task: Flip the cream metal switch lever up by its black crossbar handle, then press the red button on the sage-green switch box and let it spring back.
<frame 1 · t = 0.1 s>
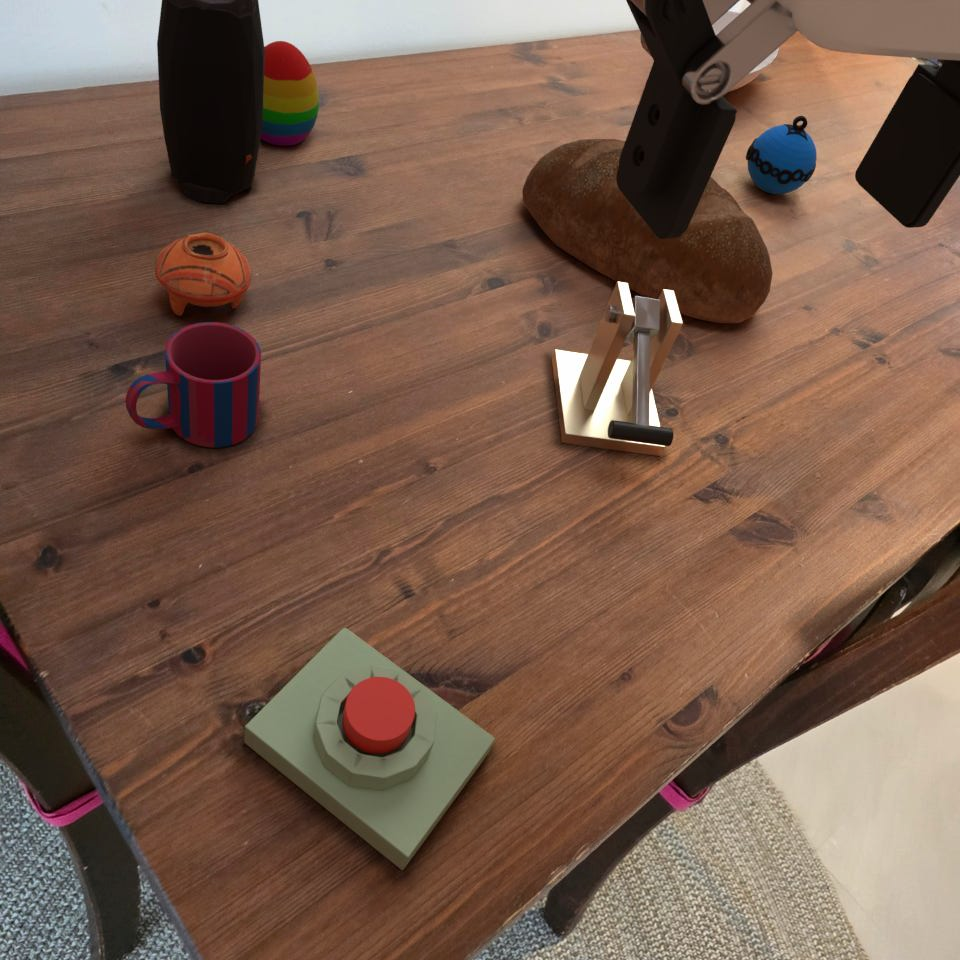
hand: (773, 207, 28), 39 cm above the table, tool pointing down, fingers open, 9 cm apart
switch bracket: (604, 405, 80), on the table
bowl: (709, 82, 136), on the table
decorative egg: (278, 135, 99), on the table
button: (378, 714, 51), point 4 cm above the table, slide at 0.1 cm
portable speaker: (213, 185, 90), on the table
pot: (204, 303, 78), on the table
ornament: (765, 190, 116), on the table
switch lever: (641, 371, 72), point 8 cm above the table, hinge at -25.0°
switch box: (369, 748, 54), on the table
bread: (633, 259, 98), on the table
cup: (193, 424, 69), on the table
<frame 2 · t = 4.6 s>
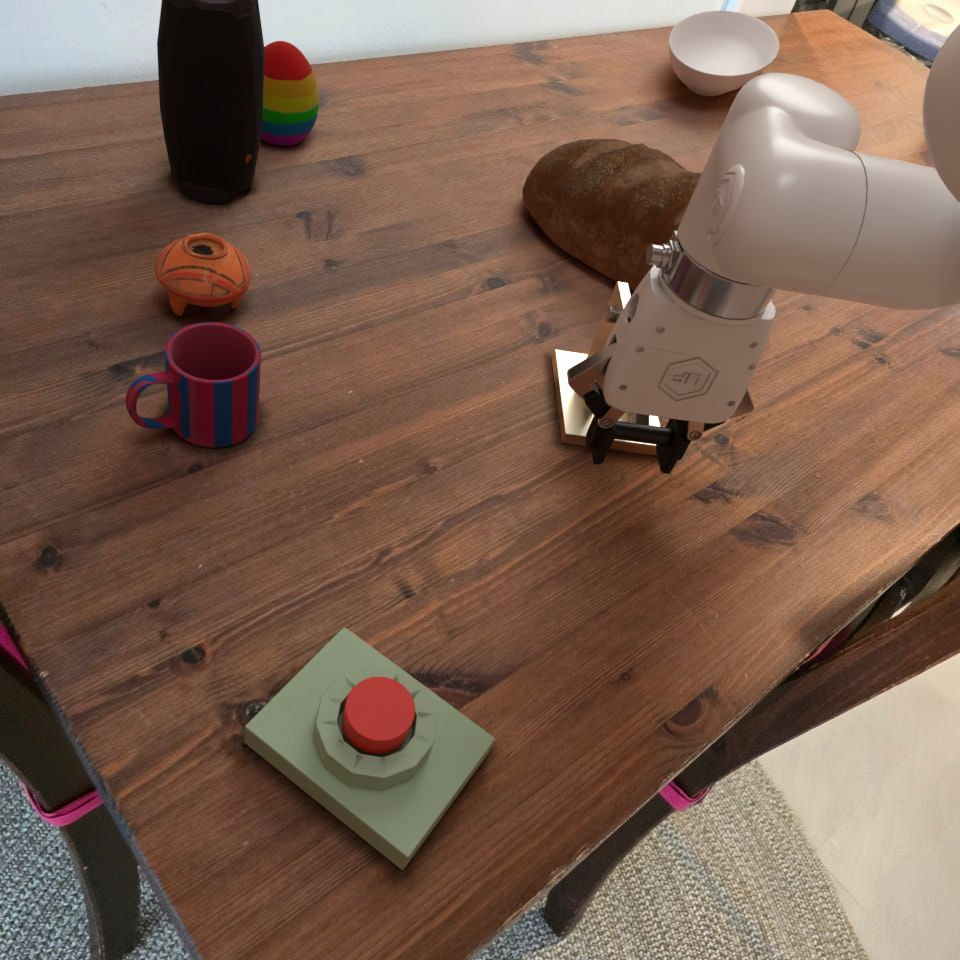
hand: (629, 455, 72), 3 cm above the table, tool pointing down, fingers closed on switch lever, 5 cm apart
switch lever: (641, 371, 72), point 8 cm above the table, hinge at -25.0°, touching gripper
everything else where it was.
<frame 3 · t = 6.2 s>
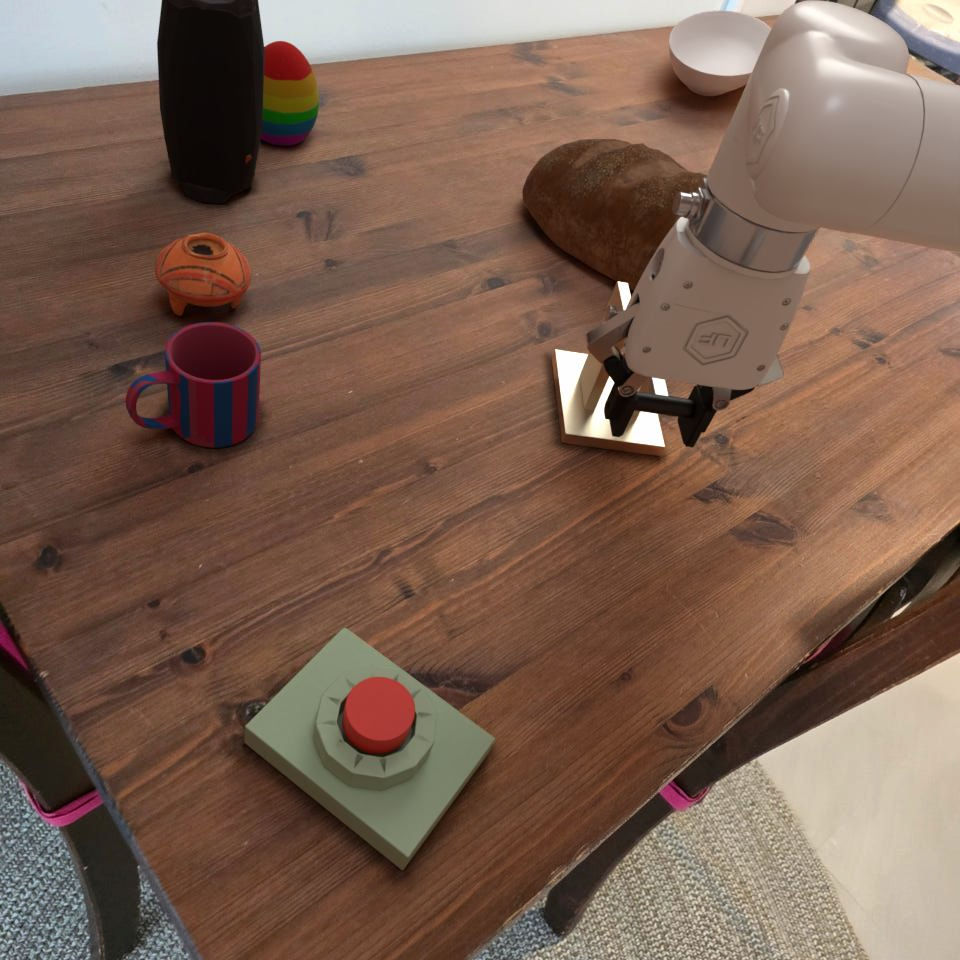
hand: (650, 427, 68), 8 cm above the table, tool pointing down, fingers closed on switch lever, 5 cm apart
switch lever: (650, 357, 70), point 10 cm above the table, hinge at -0.8°, touching gripper
everything else where it was.
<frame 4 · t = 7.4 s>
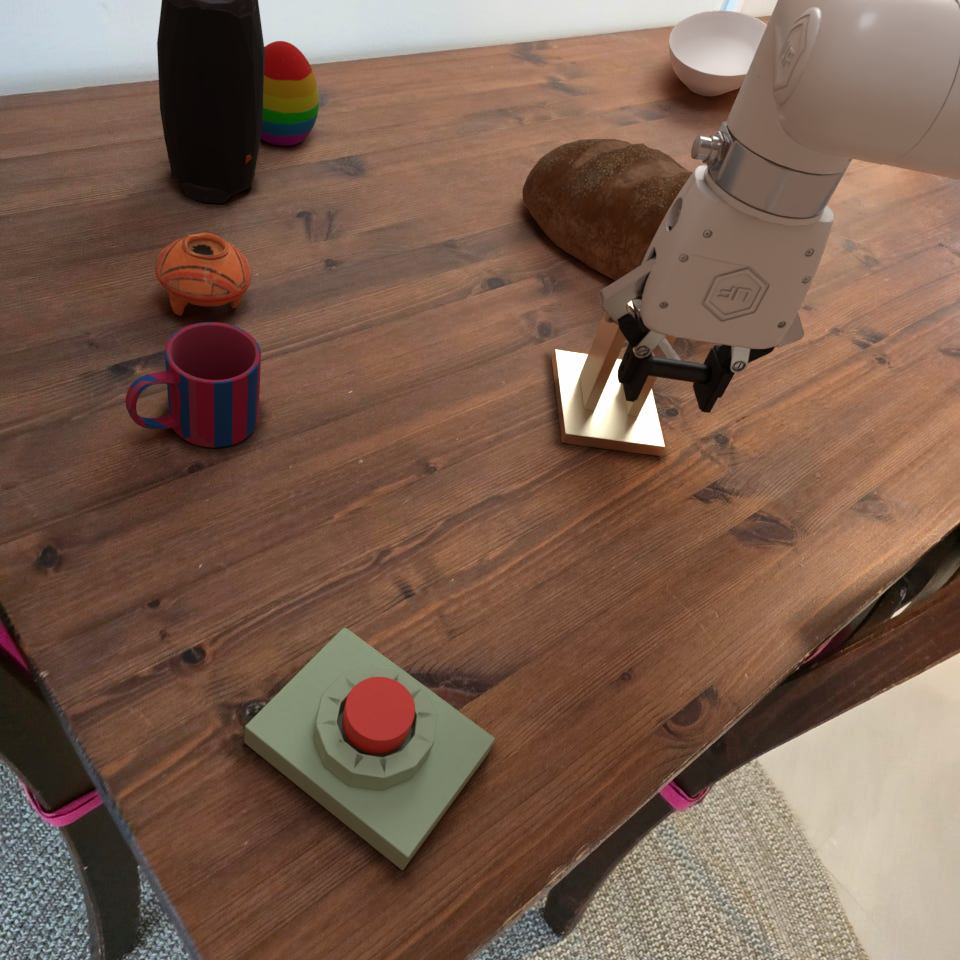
hand: (665, 392, 66), 11 cm above the table, tool pointing down, fingers closed on switch lever, 5 cm apart
switch lever: (656, 341, 69), point 11 cm above the table, hinge at 17.3°, touching gripper
everything else where it was.
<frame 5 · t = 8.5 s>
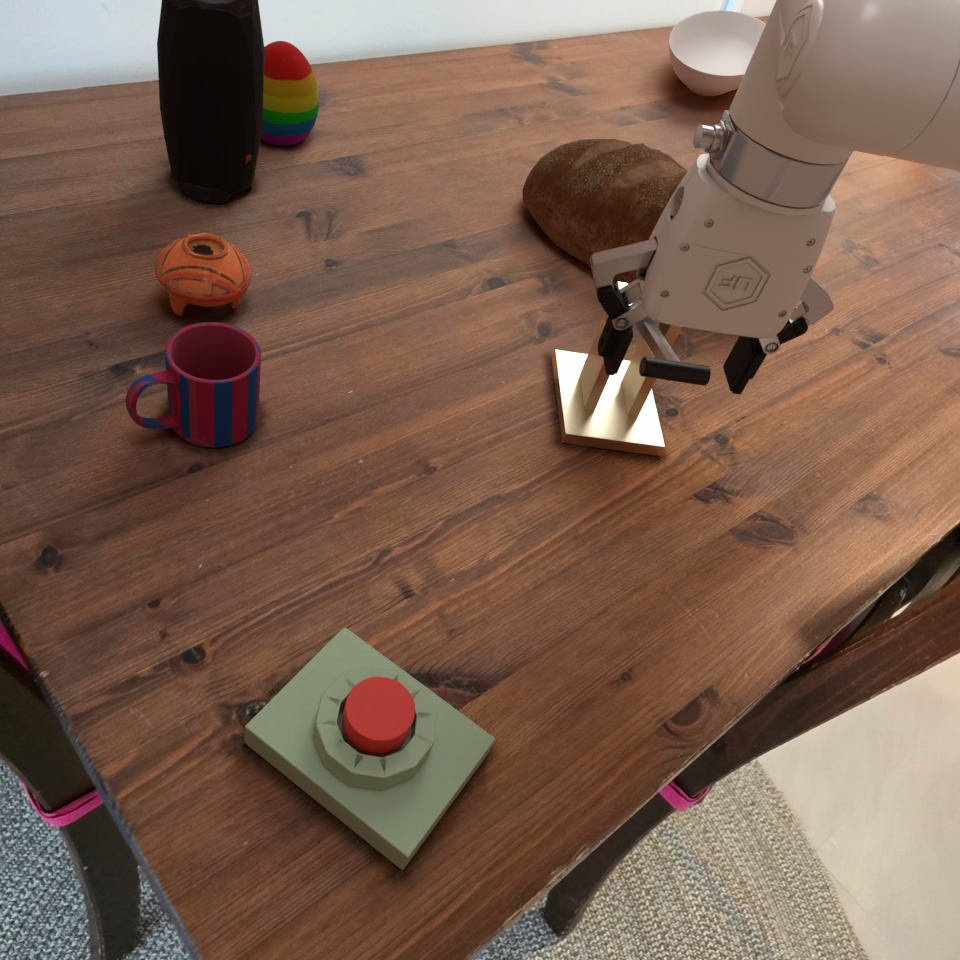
hand: (670, 372, 65), 12 cm above the table, tool pointing down, fingers open, 9 cm apart
switch lever: (656, 341, 69), point 11 cm above the table, hinge at 16.6°
everything else where it was.
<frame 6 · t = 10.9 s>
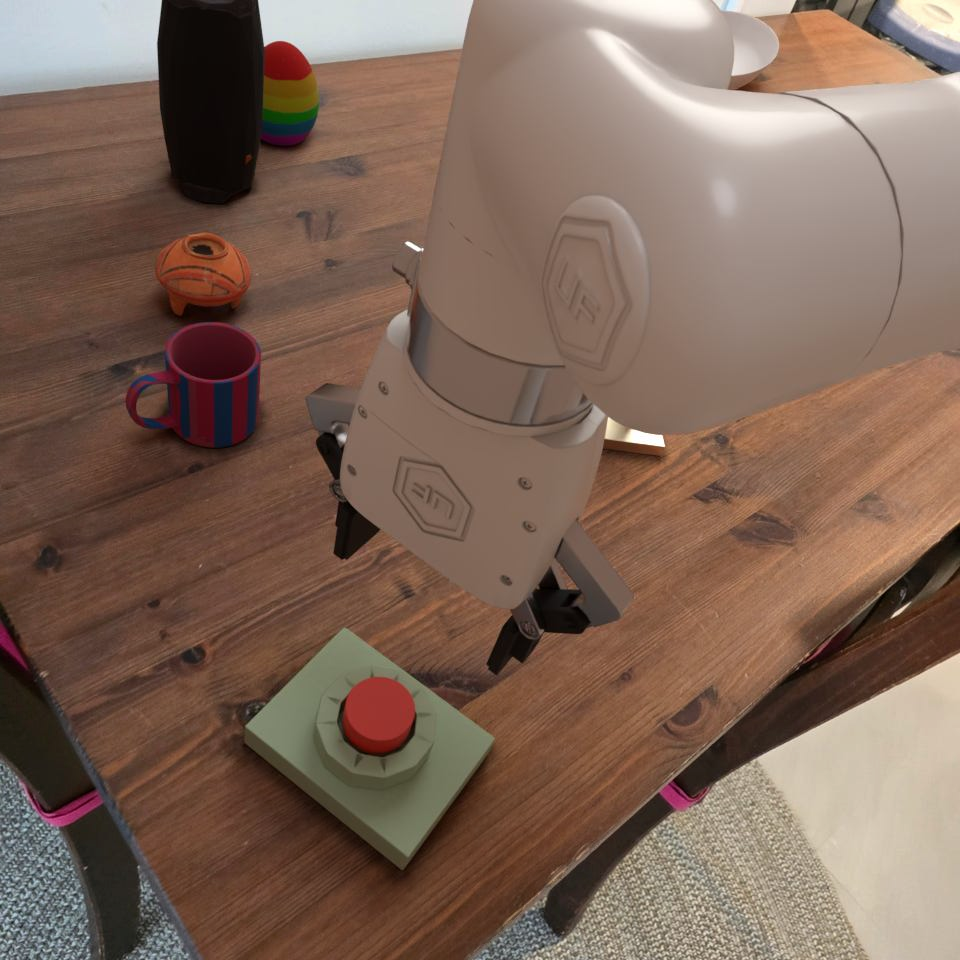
hand: (430, 595, 45), 15 cm above the table, tool pointing down, fingers open, 9 cm apart
nothing on the table moved.
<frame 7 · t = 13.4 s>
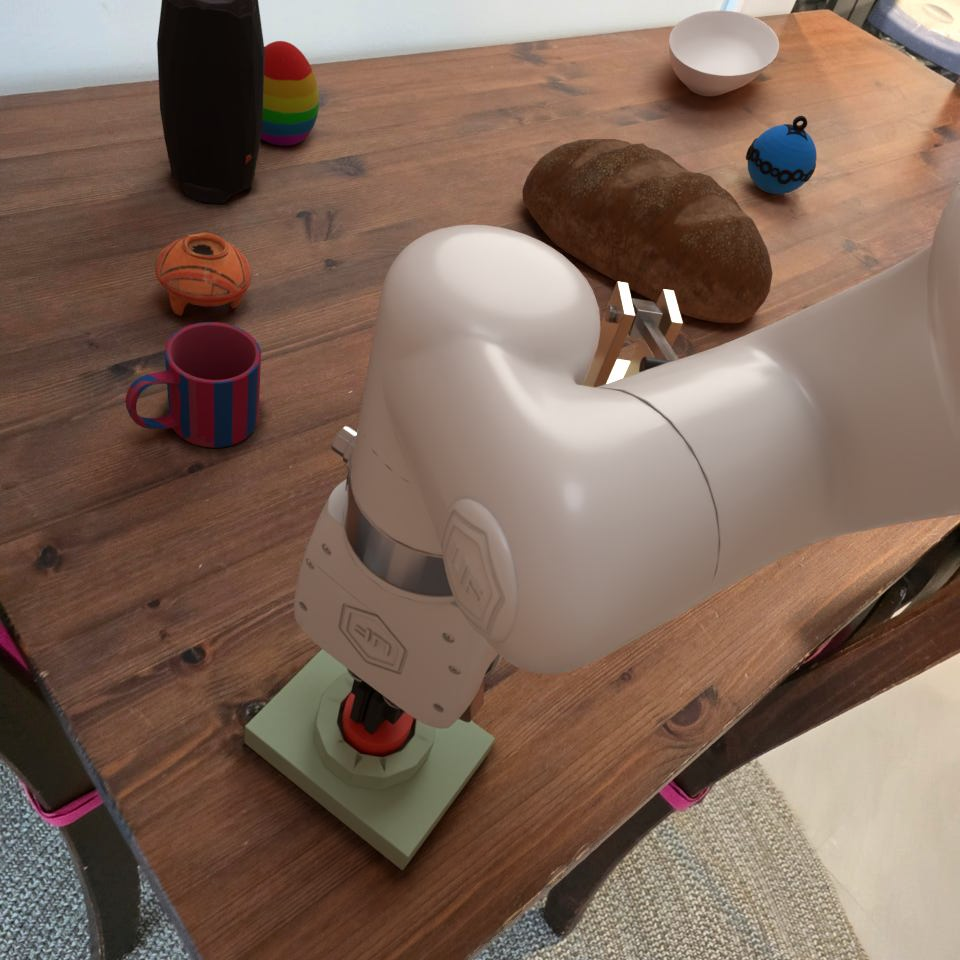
hand: (377, 708, 51), 5 cm above the table, tool pointing down, fingers closed
button: (377, 718, 51), point 4 cm above the table, slide at -0.4 cm, touching gripper
everything else where it was.
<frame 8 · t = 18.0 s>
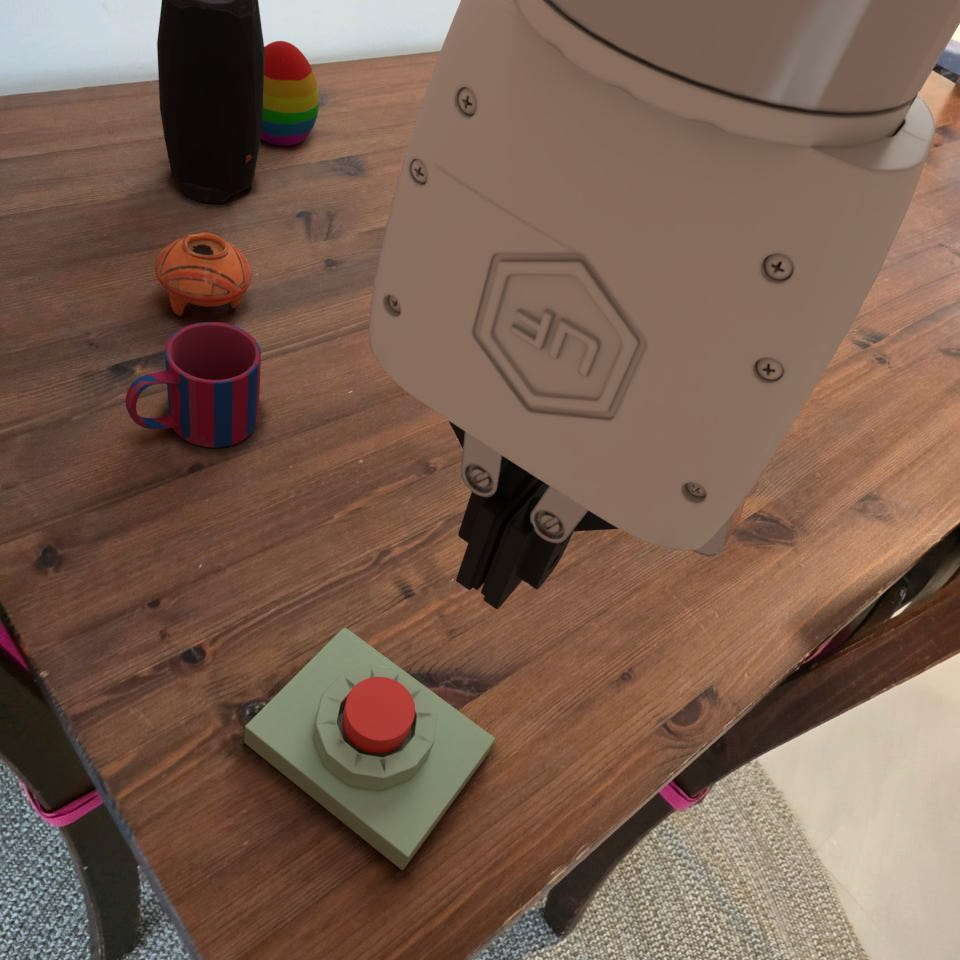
hand: (501, 568, 29), 29 cm above the table, tool pointing down, fingers closed
button: (378, 714, 51), point 4 cm above the table, slide at 0.1 cm
everything else where it was.
at the end: switch lever at +17° (first picture: -25°); button pushed in 1.1 cm at the most during the clip, back to where it started at the end; button slide at 0.1 cm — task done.
